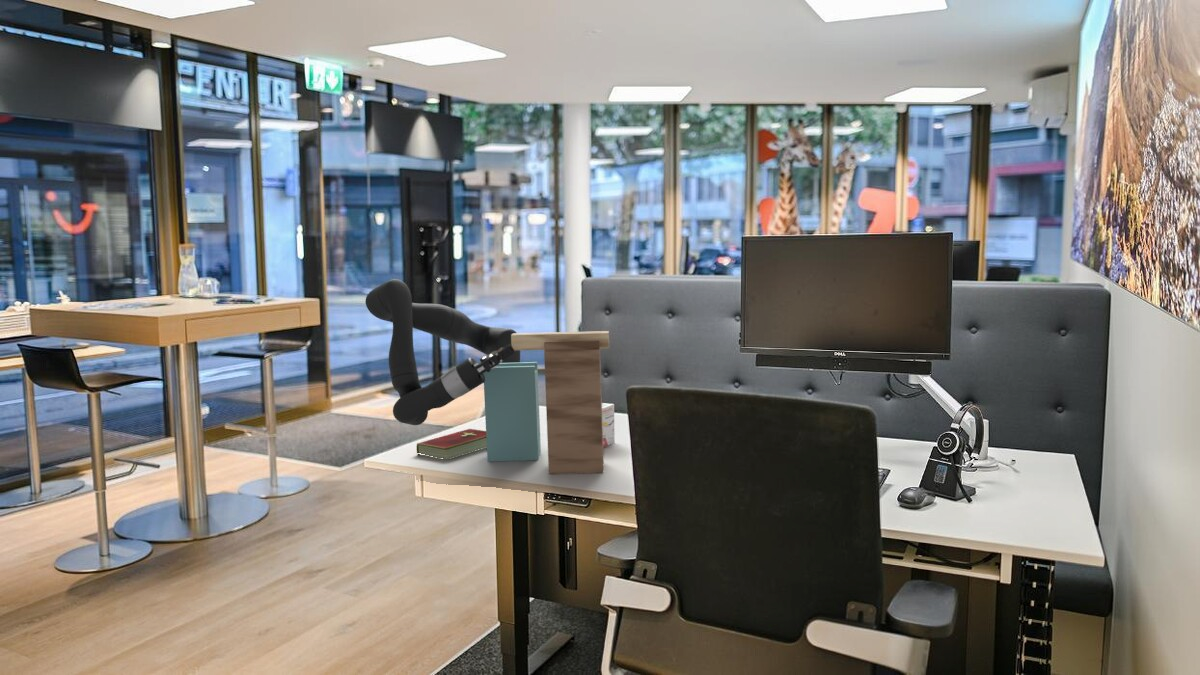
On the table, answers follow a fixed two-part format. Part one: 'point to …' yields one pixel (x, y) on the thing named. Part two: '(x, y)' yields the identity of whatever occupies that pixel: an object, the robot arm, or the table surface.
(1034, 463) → the table surface
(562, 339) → the oak block
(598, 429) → the walnut stand
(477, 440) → the hardcover book
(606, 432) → the ink cartridge box
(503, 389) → the teal tall block
